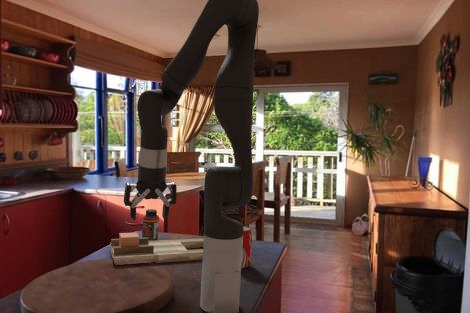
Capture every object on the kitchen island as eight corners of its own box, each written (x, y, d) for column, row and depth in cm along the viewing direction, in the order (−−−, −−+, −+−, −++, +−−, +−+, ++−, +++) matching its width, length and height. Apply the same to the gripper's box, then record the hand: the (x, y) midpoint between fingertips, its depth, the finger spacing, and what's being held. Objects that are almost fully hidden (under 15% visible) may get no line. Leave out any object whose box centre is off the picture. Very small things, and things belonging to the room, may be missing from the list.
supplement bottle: (138, 241, 144) (140, 210, 144) (146, 237, 150) (148, 207, 149) (153, 243, 143) (154, 212, 142) (160, 239, 148) (162, 209, 148)
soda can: (248, 270, 119) (250, 231, 118) (225, 267, 120) (228, 229, 120) (252, 263, 126) (254, 226, 125) (230, 260, 127) (232, 224, 127)
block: (138, 250, 124) (139, 236, 124) (120, 251, 122) (121, 237, 122) (136, 246, 129) (136, 232, 129) (118, 246, 127) (119, 233, 127)
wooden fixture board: (224, 258, 130) (225, 244, 130) (114, 265, 117) (114, 250, 116) (209, 244, 145) (209, 232, 144) (110, 250, 131) (110, 236, 131)
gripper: (127, 167, 101) (125, 225, 105) (181, 167, 106) (177, 222, 110) (124, 159, 108) (121, 214, 111) (174, 159, 113) (170, 211, 117)
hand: (149, 218), depth 111 cm, fingers open, 8 cm apart
